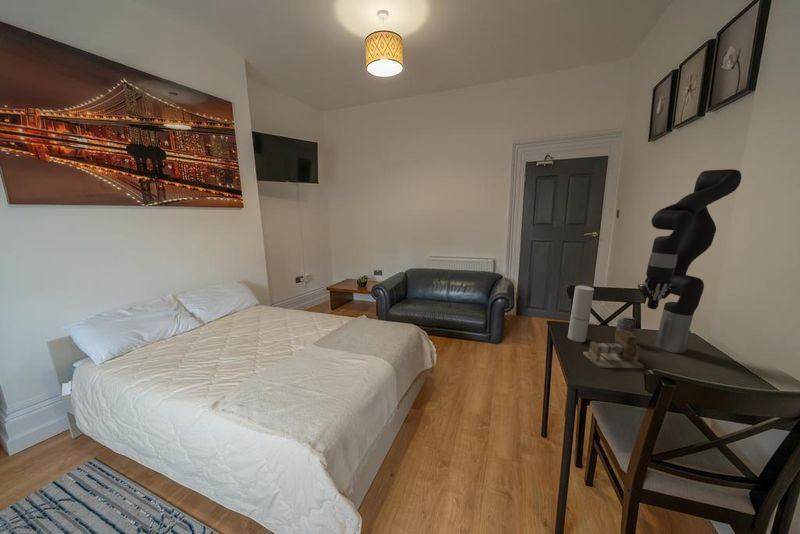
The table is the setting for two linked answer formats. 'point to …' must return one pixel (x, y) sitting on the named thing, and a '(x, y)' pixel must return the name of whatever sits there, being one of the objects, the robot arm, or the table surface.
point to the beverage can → (625, 324)
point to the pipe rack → (611, 356)
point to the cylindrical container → (580, 313)
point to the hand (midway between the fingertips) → (651, 308)
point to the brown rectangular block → (626, 344)
